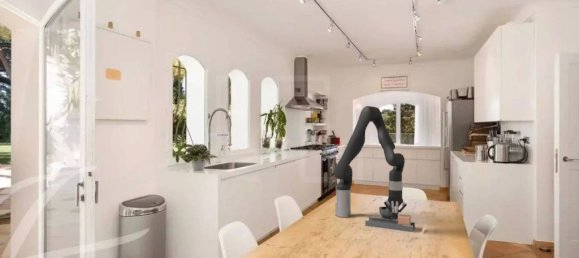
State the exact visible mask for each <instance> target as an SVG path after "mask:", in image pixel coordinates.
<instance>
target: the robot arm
mask: <svg viewBox="0 0 579 258" xmlns="http://www.w3.org/2000/svg"><path fill="white" fill-rule="evenodd" d="M358 116H359V117H358V118H357V119H358V120H357V122H356V124H355V127H354V129H353V131H352V134H351V136H350V138H349V140H348V142H347V145H346V147H345V149H344V151H343V153H342V155H341V157H340V159H339V161H338V162H337V164H336V166H335V168H334V170H333V176H334V177H335V178H336V179H337V180H339V181H338V182H337V184H336V195H335V196H336V197H335V199H336V200H335V201H334V203H335V205H334V206H335V207H334V208H335V209H334V213H335V214H334V215H335V217H338V218H350V217H351V215H352V211H351V209H352V207H351V206H352V205H351V203H352V199H351V197H352V194H351V193H352V191H351V189H352V186H353V168H352V166H351V162H353V160H354V159H355V158H356V157H357V156H358V155H359V154H360V153H361V151H362V149H363V147H364V145H365V144H366V132H367V131H366V130H367V127H368V125H369V124H370V123H371V122H372V124H373V125H374V126H375V128H376V131H377V139H378V143H379V144H380V146H381V148H382V150H383V154H384V159H385V161H386V163H387V164H388V165H389V166H390V167H392V169H390V171H388V198H387V199H386V200H385V201H384V202H383V204H384V205H385V206H386V207H387V208H388V210H389V211H391V212H392V219H393V220H398V216H399V213H401V212H403V210H404V209H405V208H406V207H407V206H408V204H407V203H406V202H405V201H404V199H403V188H404V186H403V171H404V169H405V161H406V159H405V156H404V154H402V153H400V152H396V153H395V151H394V150H395V149H396V145H395V142H394V140H393V138H392V137H391V135H390V133H389V132H388V128H387V126H386V124H385V121H384V118H383V114H382V111H381V110H380V108H379V107H377V106H372V105H371V106H370V105H367V106H364V107H363V108H362V109H361V111H360V113H359V115H358ZM389 203H390V205H391V206H392V208H391V207H390V206H389ZM385 206H384V207H385ZM400 206H402V207H400ZM399 208H400V209H399Z"/></svg>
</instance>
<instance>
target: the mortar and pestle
mask: <svg viewBox="0 0 579 258" xmlns="http://www.w3.org/2000/svg"><path fill="white" fill-rule="evenodd" d="M388 203H389V202H388ZM389 206H390V207H391V208H392V206H391V205H390V203H389ZM378 212H379V214H380V216H381V218H382V219H390V220H393V217H392V212H391V211H389V210H388V208H387V207H386V206H379V207H378Z"/></svg>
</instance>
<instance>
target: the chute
mask: <svg viewBox="0 0 579 258" xmlns="http://www.w3.org/2000/svg"><path fill="white" fill-rule="evenodd" d="M364 223H365V225H364V226H366V227H371V228H373V227H374V228H380V229H387V230H392V231H393V230H394V231H395V230H396V231H400V232H401V231H402V232H408V233H413V232H414V229H416V222H415V221H411V226H410V225H399V224H398V219H396V220H395V219H384V218H382V217H381V218H380V217H373V216H368V220H365V222H364Z"/></svg>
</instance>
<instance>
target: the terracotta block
mask: <svg viewBox="0 0 579 258" xmlns="http://www.w3.org/2000/svg"><path fill="white" fill-rule="evenodd" d="M397 220H398V224H399V225H410V226H411V222H412V215H410V214H409V215H408V214H402V213H401V214H398V218H397Z"/></svg>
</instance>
